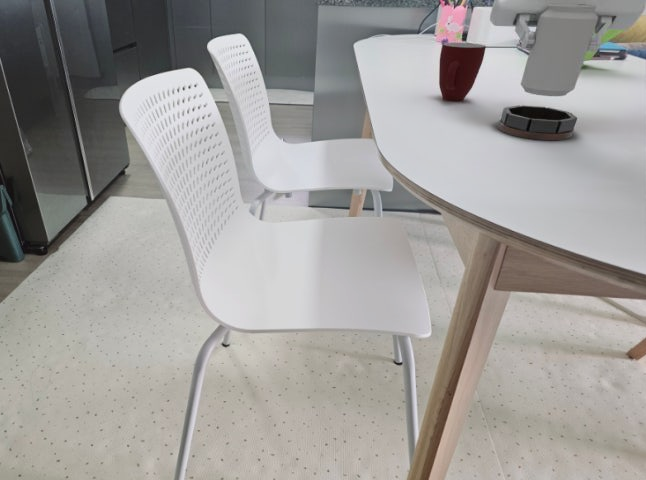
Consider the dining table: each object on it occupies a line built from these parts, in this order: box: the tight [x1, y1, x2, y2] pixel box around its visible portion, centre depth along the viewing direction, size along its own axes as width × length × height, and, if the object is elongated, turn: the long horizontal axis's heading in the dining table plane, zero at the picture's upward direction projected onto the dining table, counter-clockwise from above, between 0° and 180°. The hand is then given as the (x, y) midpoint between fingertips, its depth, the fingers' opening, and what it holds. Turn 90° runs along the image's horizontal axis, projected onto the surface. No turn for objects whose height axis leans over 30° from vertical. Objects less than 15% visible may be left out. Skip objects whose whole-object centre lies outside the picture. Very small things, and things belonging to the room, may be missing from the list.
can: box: [520, 3, 598, 97], centre depth 69 cm, size 8×8×12 cm
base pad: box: [497, 104, 578, 141], centre depth 75 cm, size 11×11×3 cm
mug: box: [438, 42, 487, 102], centre depth 92 cm, size 10×8×10 cm
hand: (560, 47), depth 69 cm, fingers closed on can, 7 cm apart
